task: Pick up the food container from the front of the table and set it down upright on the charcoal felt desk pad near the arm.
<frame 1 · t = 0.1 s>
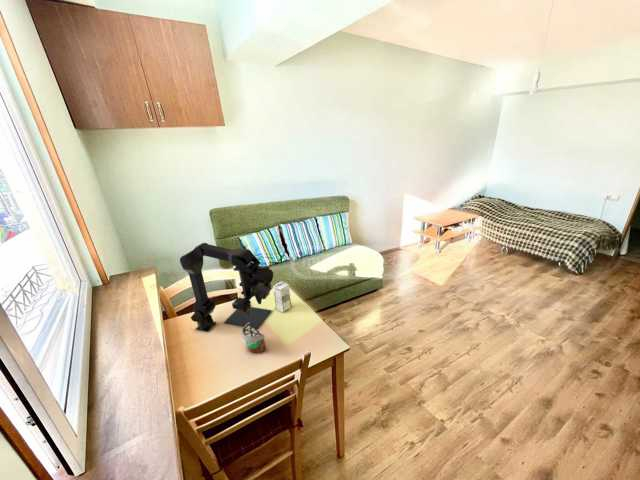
hand: (254, 310, 121), 15 cm above the table, tool pointing down, fingers open, 9 cm apart
food container: (253, 349, 120), on the table
syrup box: (283, 308, 146), on the table
desk pad: (248, 317, 140), on the table
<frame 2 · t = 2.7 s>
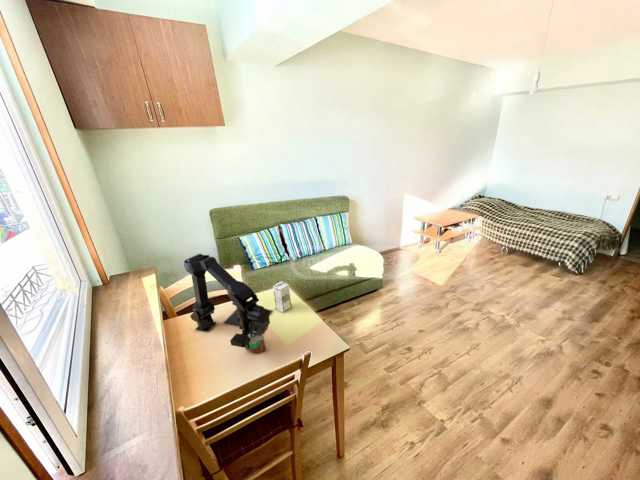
hand: (253, 343, 119), 3 cm above the table, tool pointing down, fingers closed on food container, 7 cm apart
food container: (253, 349, 120), on the table, touching gripper
everything else where it was.
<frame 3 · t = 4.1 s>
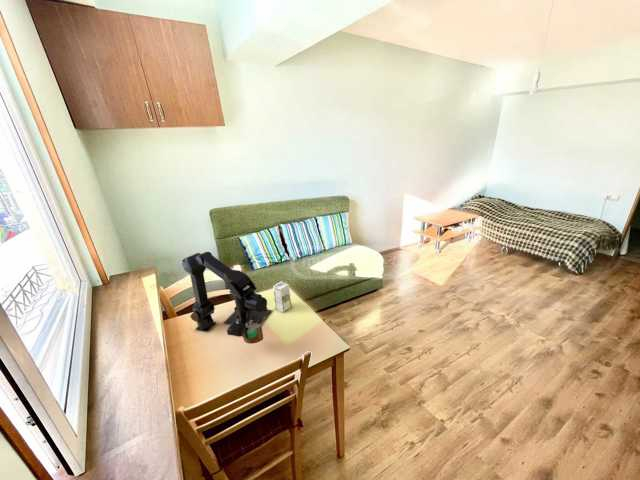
hand: (250, 333, 116), 9 cm above the table, tool pointing down, fingers closed on food container, 6 cm apart
food container: (250, 340, 118), point 5 cm above the table, touching gripper
everything else where it was.
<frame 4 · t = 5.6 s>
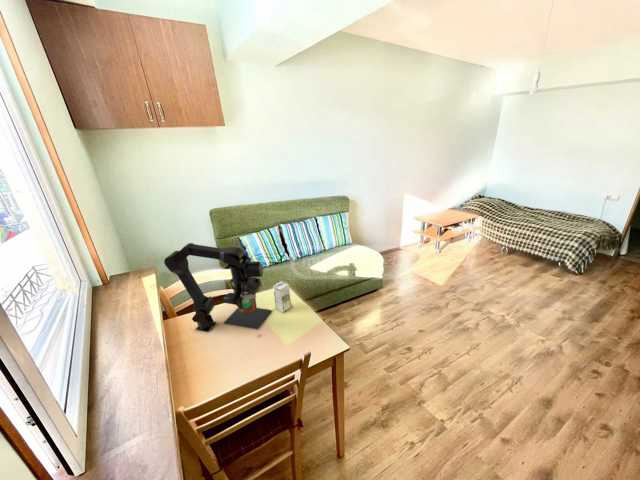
hand: (245, 305, 128), 12 cm above the table, tool pointing down, fingers closed on food container, 6 cm apart
food container: (245, 311, 129), point 9 cm above the table, touching gripper
everything else where it was.
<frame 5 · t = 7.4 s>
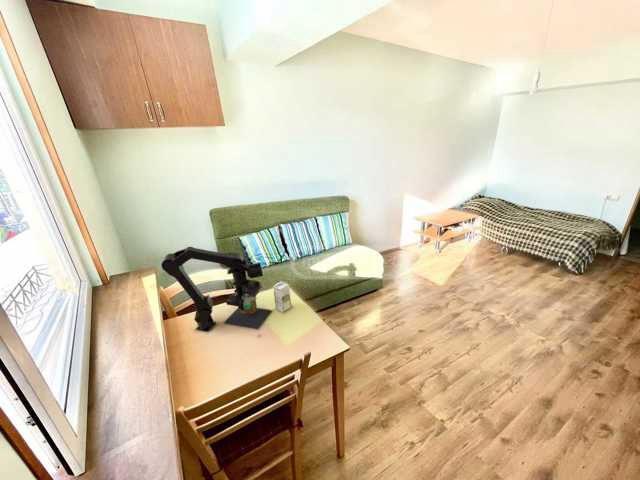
hand: (246, 306, 137), 7 cm above the table, tool pointing down, fingers closed on food container, 6 cm apart
food container: (246, 312, 138), point 3 cm above the table, touching gripper
everything else where it was.
when the fingers open (4 cm above the table, at t = 8.6 s): food container stays where it is, resting on desk pad.
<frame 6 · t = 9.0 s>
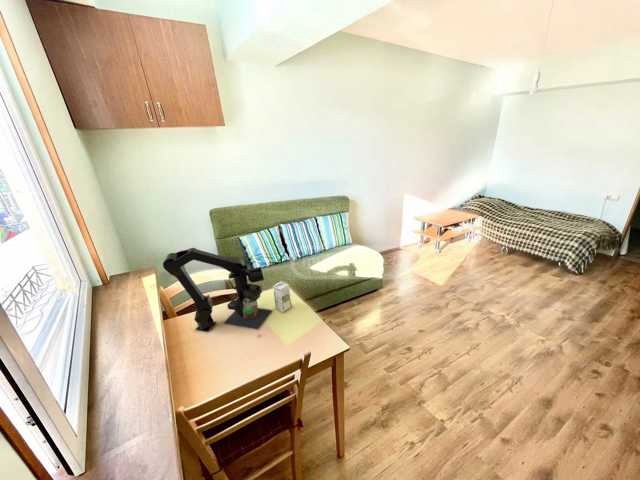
hand: (247, 310, 138), 4 cm above the table, tool pointing down, fingers open, 9 cm apart
food container: (247, 316, 139), point 1 cm above the table, touching desk pad
everything else where it was.
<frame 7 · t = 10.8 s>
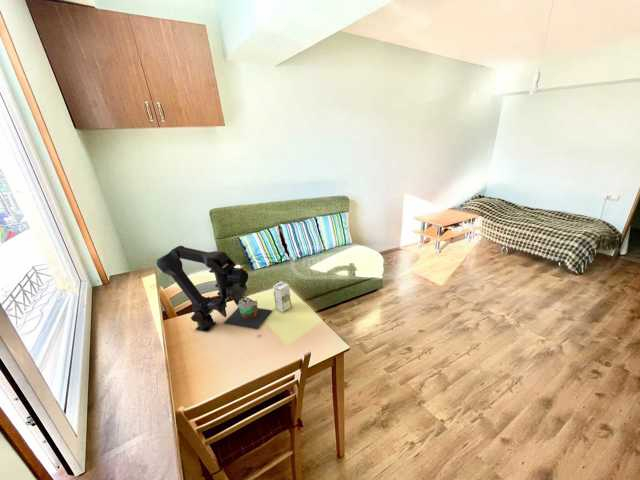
hand: (231, 310, 125), 12 cm above the table, tool pointing down, fingers open, 9 cm apart
nothing on the table moved.
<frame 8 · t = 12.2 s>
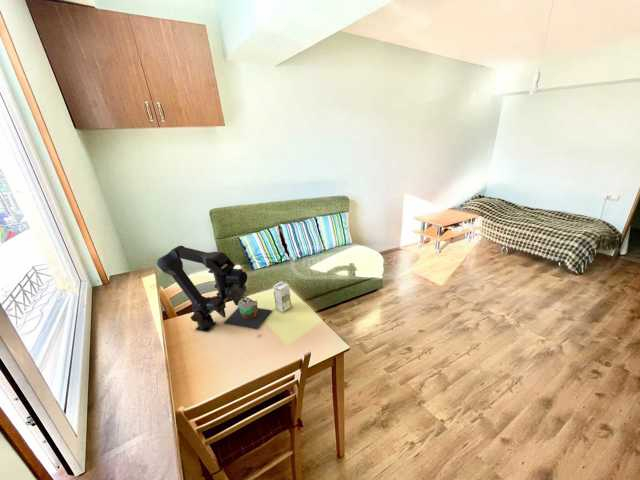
hand: (230, 311, 125), 12 cm above the table, tool pointing down, fingers open, 9 cm apart
nothing on the table moved.
at the end: food container inside the target area on the desk pad (0.7 cm from its centre), point 0.6 cm above the desk pad's base; food container tilted 0° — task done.
